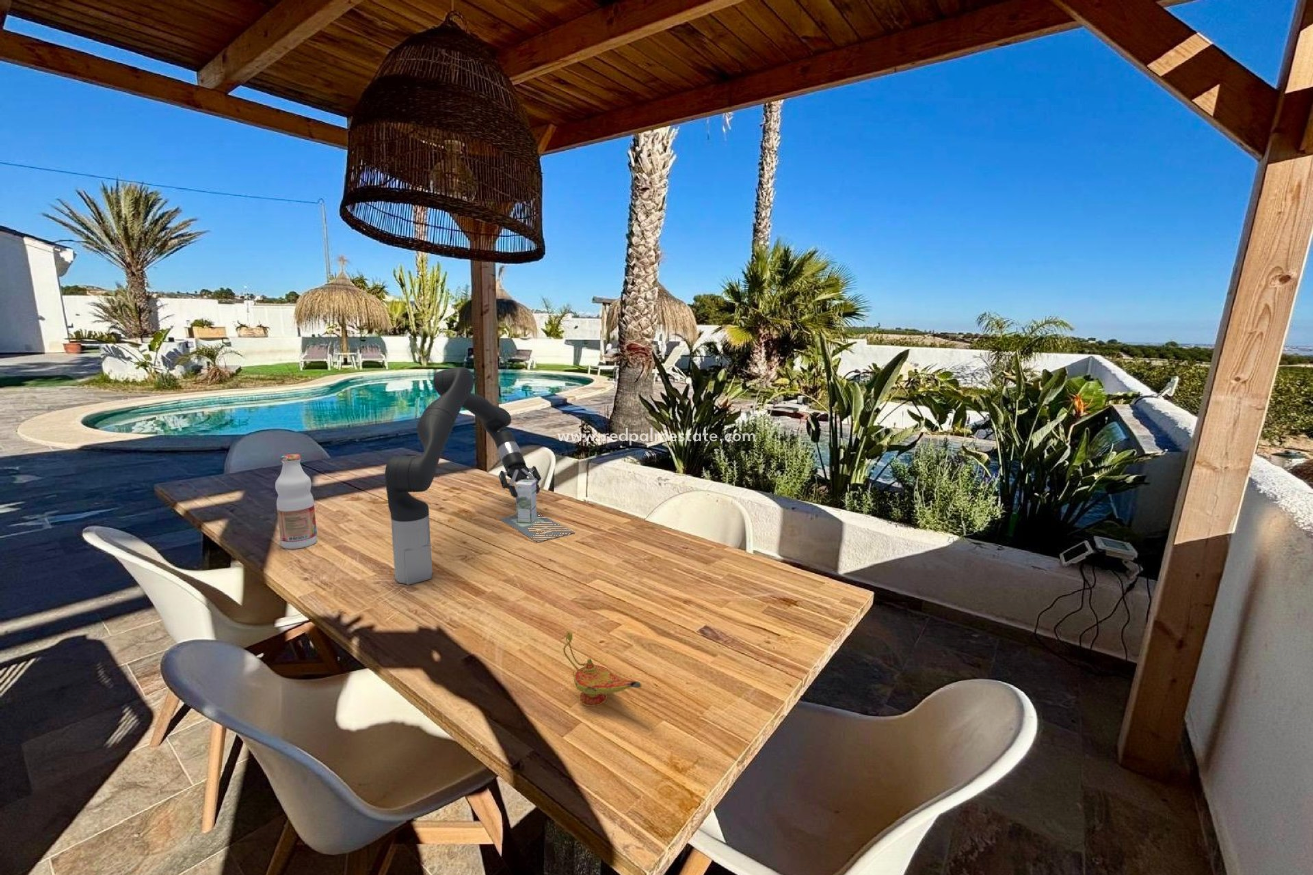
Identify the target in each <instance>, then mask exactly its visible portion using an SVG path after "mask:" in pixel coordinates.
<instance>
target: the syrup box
mask: <svg viewBox="0 0 1313 875" xmlns="http://www.w3.org/2000/svg"><path fill="white" fill-rule="evenodd" d="M515 489H516V492H517V497H516V498H515V504H516V506H515V508H516V509H515V510H516V516H517V522H520V523H533V522H534V521H535V520H536V518H537V513H538V512H537V494H536V480H519V481H518V482H516V483H515Z"/></svg>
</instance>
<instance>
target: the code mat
mask: <svg viewBox="0 0 1313 875" xmlns="http://www.w3.org/2000/svg"><path fill="white" fill-rule="evenodd" d="M538 515H540V516H538ZM541 515H542V514H540V513H539V512H537V517H545V515H542V516H541ZM498 520H499V521H501V520H502V521H503V523H504V522H505V523H504V524H506V525H507V524H508V525H507V526H509V525H510V526H509V527H511V526H512V527H513V528H512V527H511V528H512V529H514V528H515V529H516V531H517V530H518V531H517V532H519V533H520V532H521V533H520V534H522V533H523V534H522V535H524V536H525V535H526V536H525V537H527V536H528V537H527V538H529V537H530V538H531V537H532V538H531V540H532V539H551V540H553V539H552V538H533V537H559V538H561V537H560V536H559V535H566V536H569V535H568V534H569V533H570V535H572V534H571V533H574V534H576V532H575V531H573V530H571V531H545V532H544V531H542V532H541V531H538V532H537V531H529V530H570V529H569V528H567V529H528V528H566V527H565V526H563V527H533V526H562V525H561V524H560V523H557V522H556V521H554V520H552V519H549V518H548V517H546V518H536V520H535V521H534V522H533V523H520V522H517V516H516V515H509V516H505V517H500V518H499V519H498ZM502 521H501V522H502ZM535 522H536V523H535ZM537 522H540V523H537ZM541 522H552V523H541ZM533 524H553V525H533ZM554 524H556V525H554ZM558 524H559V525H558ZM531 526H532V527H531ZM515 529H514V530H515ZM536 533H539V534H536ZM540 533H543V534H540ZM544 533H545V534H544ZM552 533H553V534H552ZM560 533H561V534H560ZM562 533H564V534H562ZM565 533H567V534H565ZM533 535H534V536H533ZM535 535H545V536H535ZM546 535H548V536H546ZM549 535H552V536H549ZM554 535H555V536H554ZM556 535H557V536H556ZM530 538H529V539H530ZM533 541H534V542H535V541H543V542H545V541H544V540H533Z"/></svg>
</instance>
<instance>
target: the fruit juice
mask: <svg viewBox="0 0 1313 875" xmlns="http://www.w3.org/2000/svg"><path fill="white" fill-rule="evenodd" d="M280 461H281V463H282V466H281V471H280V474H279V476H278V477H277V479H276V480H275V483H274V484H275V485H274V487H275V491H276V493H277V498H276V510H277V511H276V512H277V521H278V529H279V538H280V539H279V540H280V545H281V547H282V548H284V549H288V550H296V549H303V548H307V547H310V546H312V545H314V544H316V543H317V541H318V531H317V519H316V511H315V500H314V496H313V494H312V493H311V488H312V480H311V477H310V476H309V475H307V473H306V472H305V471H304V470H303V467H302V465H301V454H296V453H295V454H294V453H293V454H285V455H281V456H280Z"/></svg>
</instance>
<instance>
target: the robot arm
mask: <svg viewBox="0 0 1313 875" xmlns="http://www.w3.org/2000/svg"><path fill="white" fill-rule="evenodd" d="M432 382H433V383H432V384H433V388H434V390H435V391H436V393H437V394H438V395H439V397H438V398H436V399H435V400H433V401H432V402H431V403H430V404H428V406H426V408H425V409H424V411H423V412H422V414H421V416H420V418H419V420H418V422H417V423H416V424H417V425H416V433H417V436H418V439H419V440H420V442H421V444H422V446H423V452H422V454H421V455H420V456H393V457H391V458H390V459H388V461H387V463H386V465H385V468H384V470H385V471H384V482H385V489H386V497H387V504H388V506H387V507H388V510H389V513H390V521H391V524H390V525H391V535H392V539H391V540H392V551H393V565H394V578H395V581H396V582H397V583H399V584H406V586H410V585H413V584H417V583H420V582H425V581H428V580H431V579H432V575H433V560H432V545H431V544H432V543H431V542H432V541H431V527H430V526H431V524H430V509H429V505H428V503H427V502H425V501H422V500H420V499H418V498H416V497H414V496H412V494H410V493H423V492H425V491H428V489H429V488H430V487H431V485H432V483H433V481H434V479H435V476H436V473H437V472H436V471H437V468H438V465H439V462H440V459H441V456H442V453H443V451H444V447H445V446H446V443H447V441H448V439H449V437H450V434H451V433H452V430H453V428H454V427H455V423H456V420H457V418H458V417H459V414H460V412H461V410H462V408H463V409H465V410H466V411H468V412H470V413H471V414H473V415H474V416H475V417H476V418H477V419H478V420H480V421H481V425H482V427H483V429H484V430H485V431H486V432H487V433H488V434H489V436H490V437H491V438H492V440H493V441H494V444H495V446H496V448H497V451H498V454H499V459H500V460H501V463H502V465H503V467H504V470H505V471H504V470H500V472H499V474H498V478H499V481H500V484H501V487H502V489H504V490H505V489H508V491H509V493H510V496H511V497H513V499H516V497H517V492H516V486H515V485H514V484H515V482H516V483H517V482H518V481H519V480H536V495H538V494H539V493H540V491H541V487H540V485H539V483H540V481H541V480H542V477H541V474H540V473H539V470H538V469H537V467H536V466H535V465H533V466H532V467H528V466H527V464H526V460H525V458H524V456H523V453H522V451H521V449H520V446H519V445H518V443H517V442H516V439H515V436H514V434H513V433H512V431H511V430H505V429H506V428H507V427H508V426H510V424H511V423H512V416H511V414H510V412H509V411H507V410H506V409H504V408H503V407H500V406H497V405H495V404H492V402H490V401H489V400H488V399H487V398H485V397H483V396H482V395H479V394H477V393H473V392H472V391H473V388H474V376H473V372H471V370H470V369H468V368H467V367H464V366H463V367H462V366H457V367H453V368H446V369H443V370H439V371H437V372H436V373H435V374H434V376H433V380H432ZM503 429H504V430H503ZM506 477H508V478H509V479H510V481H509V483H508V480H507V478H506Z"/></svg>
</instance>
